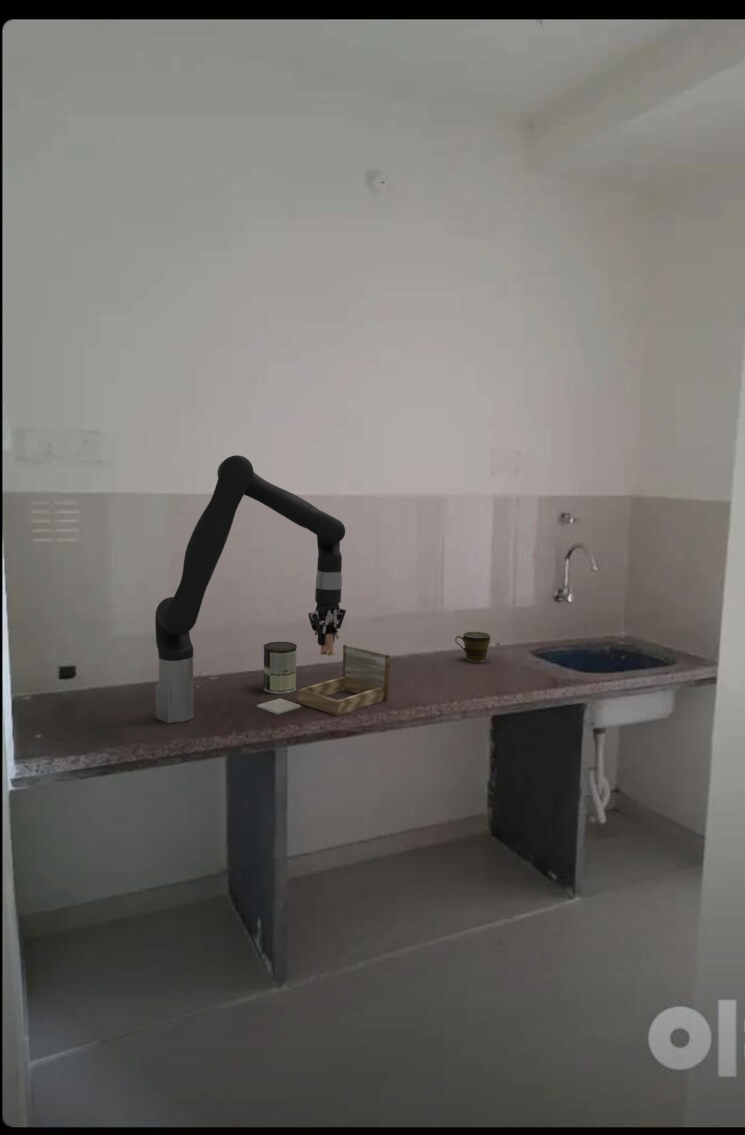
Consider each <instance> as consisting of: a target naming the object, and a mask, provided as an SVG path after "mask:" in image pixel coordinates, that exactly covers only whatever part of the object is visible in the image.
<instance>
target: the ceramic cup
mask: <svg viewBox="0 0 745 1135" xmlns="http://www.w3.org/2000/svg"><path fill="white" fill-rule="evenodd" d="M458 638H459V639H461V640H462V641H463V643H464V647H463V646H462V645H461V644H460V643H459V642H457V639H458ZM454 641H455V643H456V644H457V645H459V646H460V648H461V649H462V650H463V651H464V653H465V657H466V658H465V659H466V661H467V662H468V663H471V662H473V663H472V664H483V663H485V662H486V658H487V654H488V648H489V646H490V641H491V634H489V633H487V632H481V631H466V632H463V633H462V636H461V635H458V636H456V637H455V640H454ZM482 662H483V663H482Z"/></svg>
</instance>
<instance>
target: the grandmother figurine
mask: <svg viewBox="0 0 745 1135" xmlns="http://www.w3.org/2000/svg"><path fill="white" fill-rule="evenodd" d="M332 620H333V614H332V613H331V614H330V616H329V622H328V625H327V626H326V632H325V633H326V637H325V646H321V645H320V653H319V654H320V655H321V656H324V655H327V656H330V657H331V656H335V655H336V652H334V644H333V633H332V631H333V632H334V634H335V639H336V640H338V639H339V638H340V635H339V631H338V629H336V627H335V626H334V625H332V624H330V623H331V622H332ZM321 629H322V626H321ZM313 634H314V636H318V632H316V631H314V633H313Z"/></svg>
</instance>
